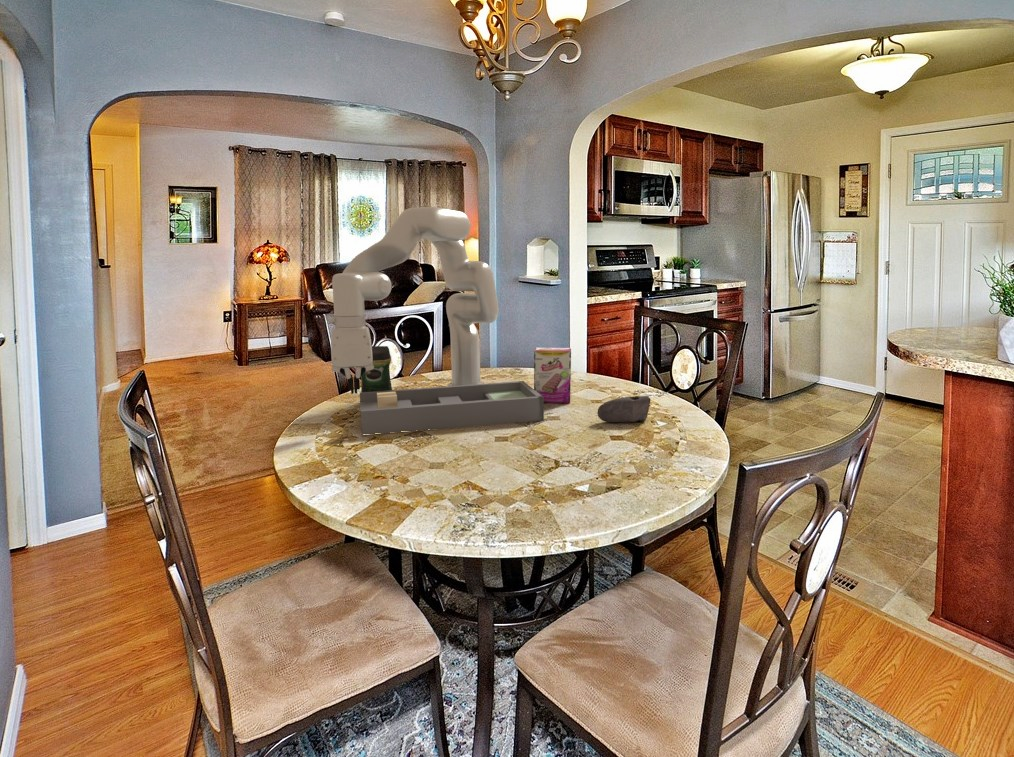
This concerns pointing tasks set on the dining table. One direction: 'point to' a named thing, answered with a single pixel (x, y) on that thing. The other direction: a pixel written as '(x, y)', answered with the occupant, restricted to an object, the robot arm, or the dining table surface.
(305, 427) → the dining table surface
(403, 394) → the box
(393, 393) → the maple block
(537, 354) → the candy bar box
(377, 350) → the coffee jar
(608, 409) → the perforated stone tool
